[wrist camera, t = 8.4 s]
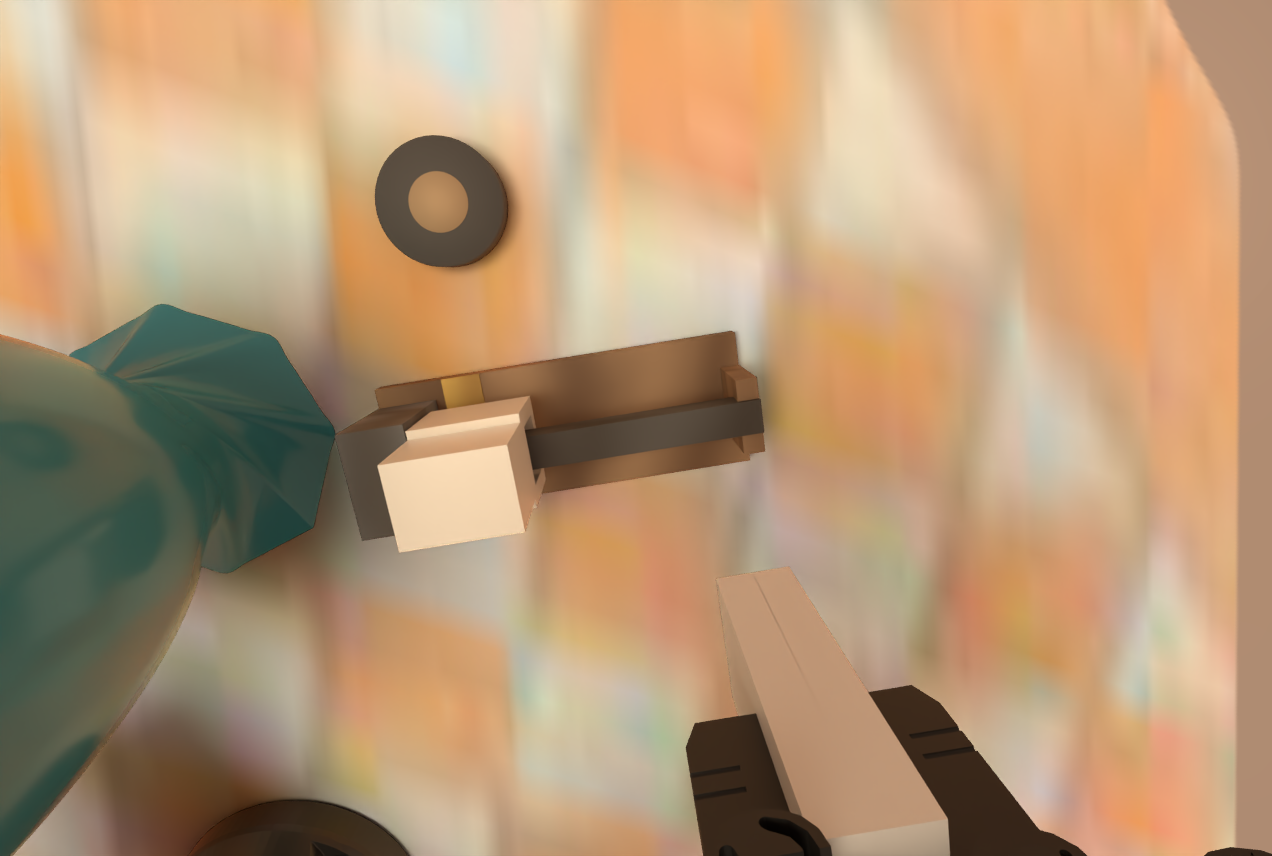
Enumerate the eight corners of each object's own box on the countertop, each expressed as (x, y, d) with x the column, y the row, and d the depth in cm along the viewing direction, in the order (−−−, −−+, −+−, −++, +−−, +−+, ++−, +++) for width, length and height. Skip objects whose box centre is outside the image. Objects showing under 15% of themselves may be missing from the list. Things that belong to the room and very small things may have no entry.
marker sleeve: (449, 494, 35) (401, 562, 27) (430, 411, 34) (374, 455, 26) (546, 479, 35) (526, 541, 27) (529, 395, 34) (504, 434, 26)
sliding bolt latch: (410, 509, 38) (367, 560, 31) (380, 387, 36) (328, 413, 30) (746, 455, 38) (776, 495, 31) (731, 330, 37) (759, 344, 30)
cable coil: (403, 275, 35) (390, 275, 33) (375, 153, 34) (360, 145, 32) (517, 257, 35) (512, 256, 33) (494, 134, 34) (487, 125, 32)
